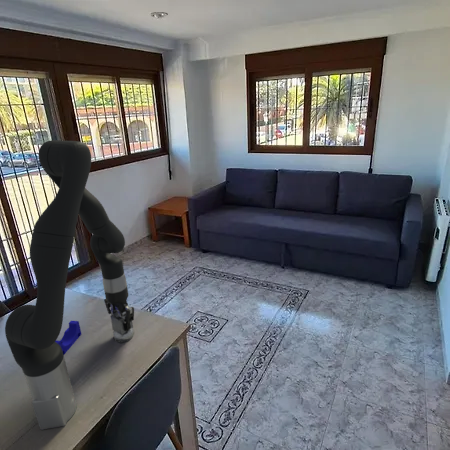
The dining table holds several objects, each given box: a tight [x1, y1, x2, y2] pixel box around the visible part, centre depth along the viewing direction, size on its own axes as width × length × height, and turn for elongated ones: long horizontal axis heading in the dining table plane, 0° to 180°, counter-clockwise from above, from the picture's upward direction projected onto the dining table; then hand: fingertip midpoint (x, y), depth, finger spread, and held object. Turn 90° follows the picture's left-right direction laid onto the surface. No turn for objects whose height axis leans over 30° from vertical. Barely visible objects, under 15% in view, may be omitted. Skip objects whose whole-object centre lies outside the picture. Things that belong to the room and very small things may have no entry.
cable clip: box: [55, 320, 82, 356], centre depth 111 cm, size 12×4×6 cm, turn 171°
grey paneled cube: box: [110, 311, 134, 335], centre depth 113 cm, size 5×5×6 cm
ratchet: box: [112, 327, 135, 343], centre depth 117 cm, size 14×7×6 cm, turn 10°
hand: (122, 327), depth 114 cm, fingers closed on grey paneled cube, 5 cm apart
